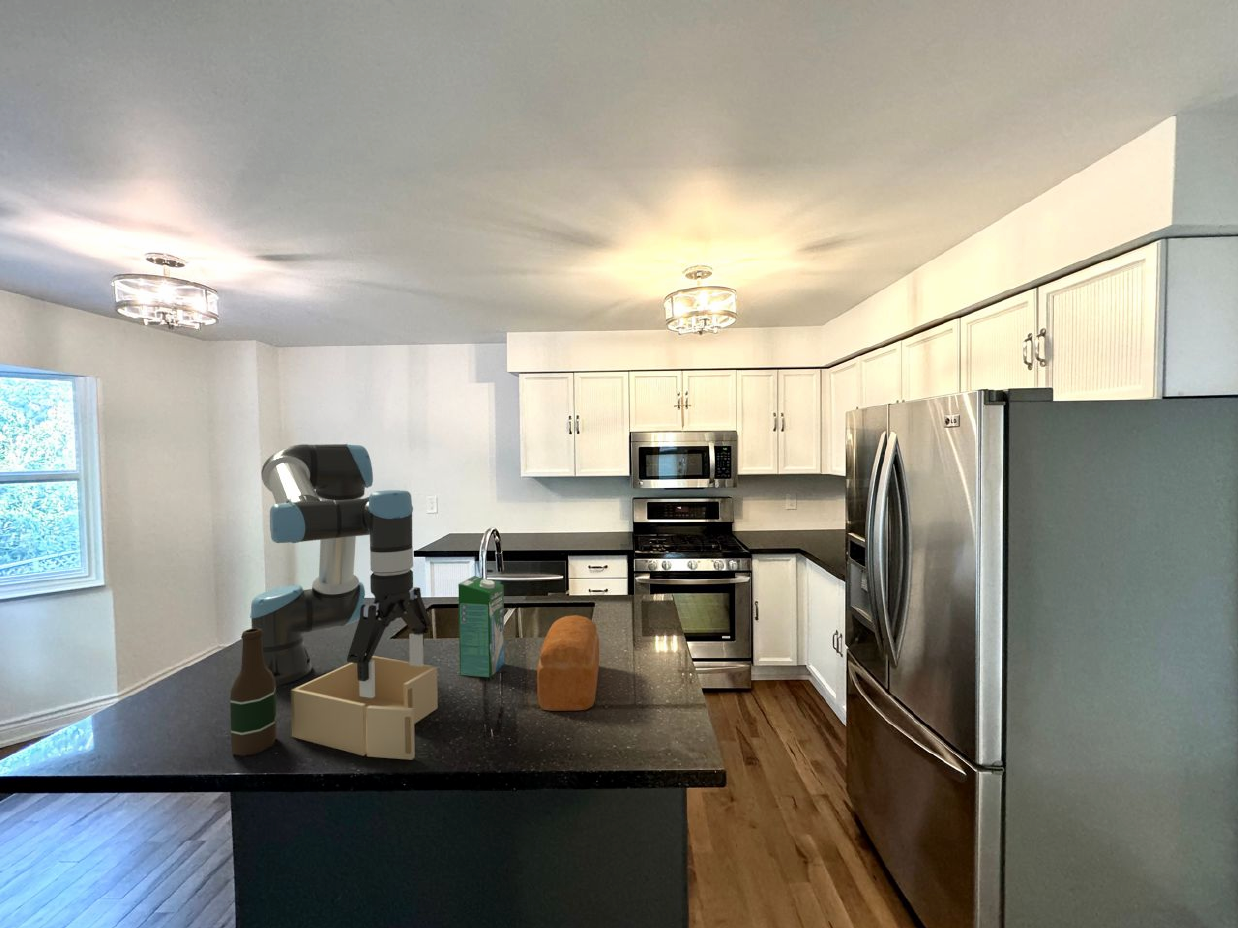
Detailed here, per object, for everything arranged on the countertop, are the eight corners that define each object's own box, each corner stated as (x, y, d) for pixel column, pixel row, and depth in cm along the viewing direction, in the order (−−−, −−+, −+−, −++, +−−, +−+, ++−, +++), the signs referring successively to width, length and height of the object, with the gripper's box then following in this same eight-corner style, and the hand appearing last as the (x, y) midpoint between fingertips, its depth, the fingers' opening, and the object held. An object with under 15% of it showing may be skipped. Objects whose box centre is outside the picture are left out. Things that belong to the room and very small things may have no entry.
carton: (291, 736, 107) (290, 690, 107) (368, 694, 126) (367, 654, 126) (363, 755, 100) (362, 705, 100) (433, 707, 119) (432, 665, 119)
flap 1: (370, 753, 100) (369, 705, 100) (414, 756, 99) (413, 708, 99) (366, 756, 99) (365, 708, 99) (411, 760, 98) (410, 711, 98)
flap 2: (404, 727, 110) (403, 683, 109) (434, 707, 118) (433, 666, 118) (408, 728, 109) (407, 684, 109) (438, 708, 118) (437, 667, 118)
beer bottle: (247, 736, 107) (244, 624, 107) (285, 734, 108) (283, 623, 108) (221, 758, 100) (218, 637, 99) (263, 756, 100) (260, 636, 100)
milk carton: (490, 677, 135) (489, 584, 134) (459, 675, 137) (458, 583, 136) (504, 663, 144) (503, 576, 143) (475, 661, 146) (474, 575, 145)
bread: (600, 664, 143) (599, 609, 142) (594, 712, 117) (594, 644, 116) (551, 665, 143) (551, 609, 143) (535, 712, 117) (534, 644, 116)
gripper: (417, 556, 110) (418, 652, 111) (322, 586, 86) (324, 708, 87) (447, 558, 108) (448, 656, 109) (358, 589, 84) (360, 714, 85)
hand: (393, 679), depth 98 cm, fingers open, 13 cm apart
